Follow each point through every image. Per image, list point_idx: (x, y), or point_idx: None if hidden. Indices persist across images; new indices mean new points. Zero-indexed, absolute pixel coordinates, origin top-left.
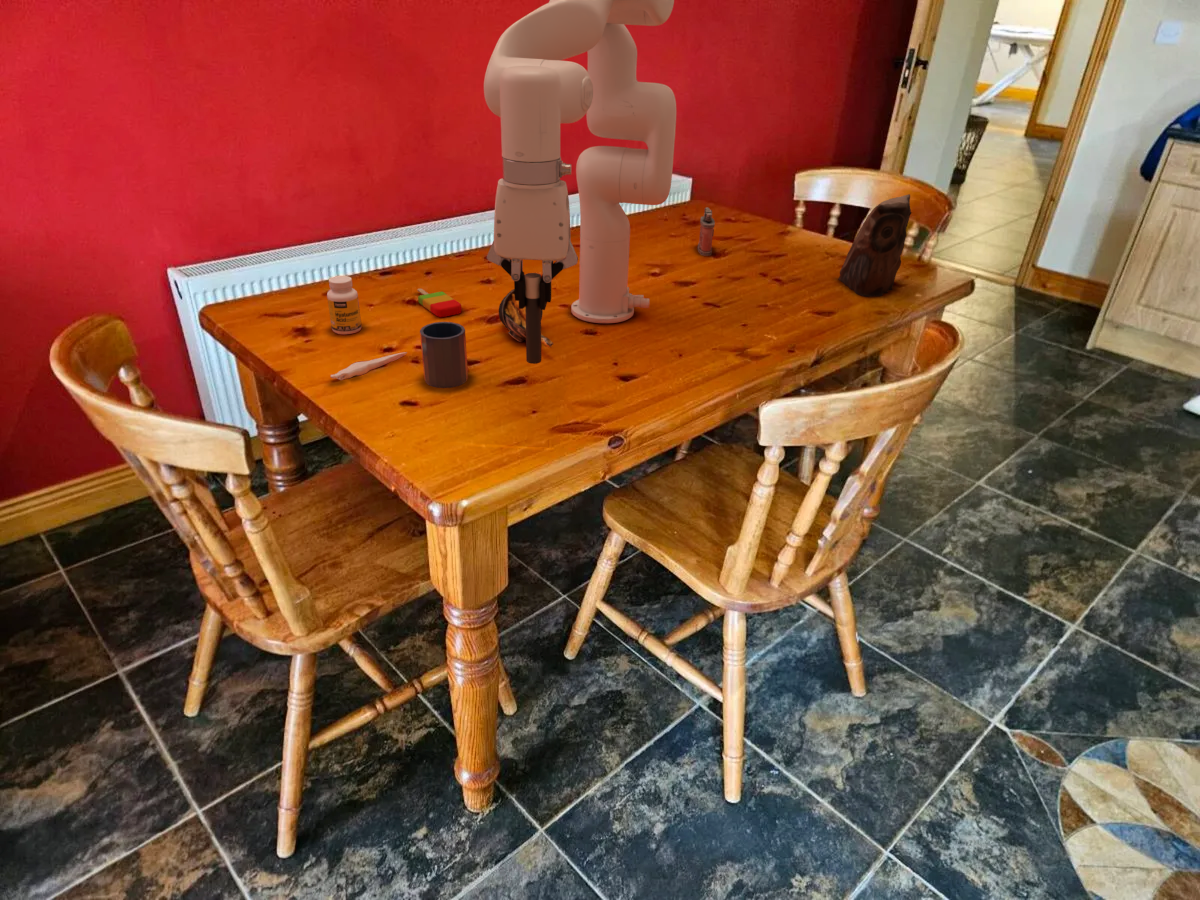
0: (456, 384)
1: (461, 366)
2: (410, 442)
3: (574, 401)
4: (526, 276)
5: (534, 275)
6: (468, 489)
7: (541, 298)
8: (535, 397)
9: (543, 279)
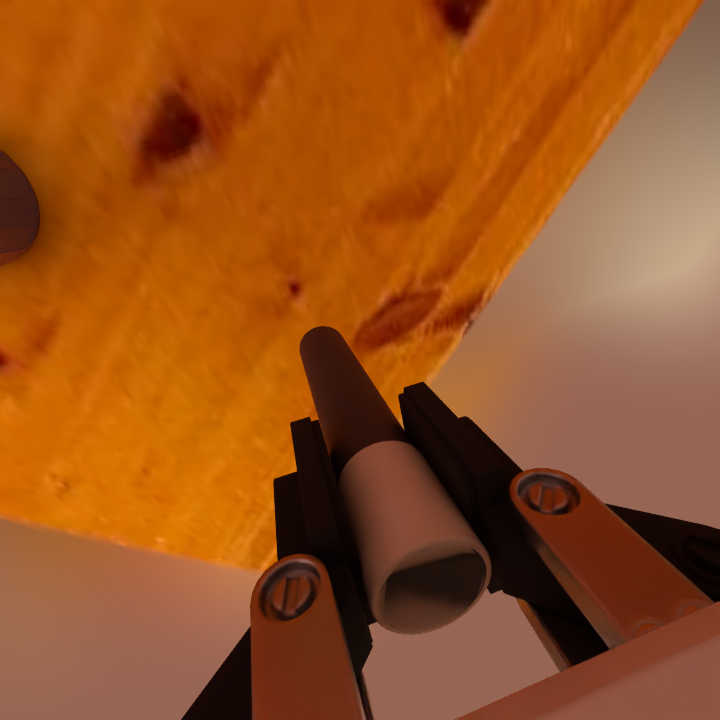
0: (26, 242)
1: (1, 223)
2: (119, 487)
3: (364, 205)
4: (396, 627)
5: (445, 582)
6: None
7: None
8: (267, 216)
9: (519, 600)
